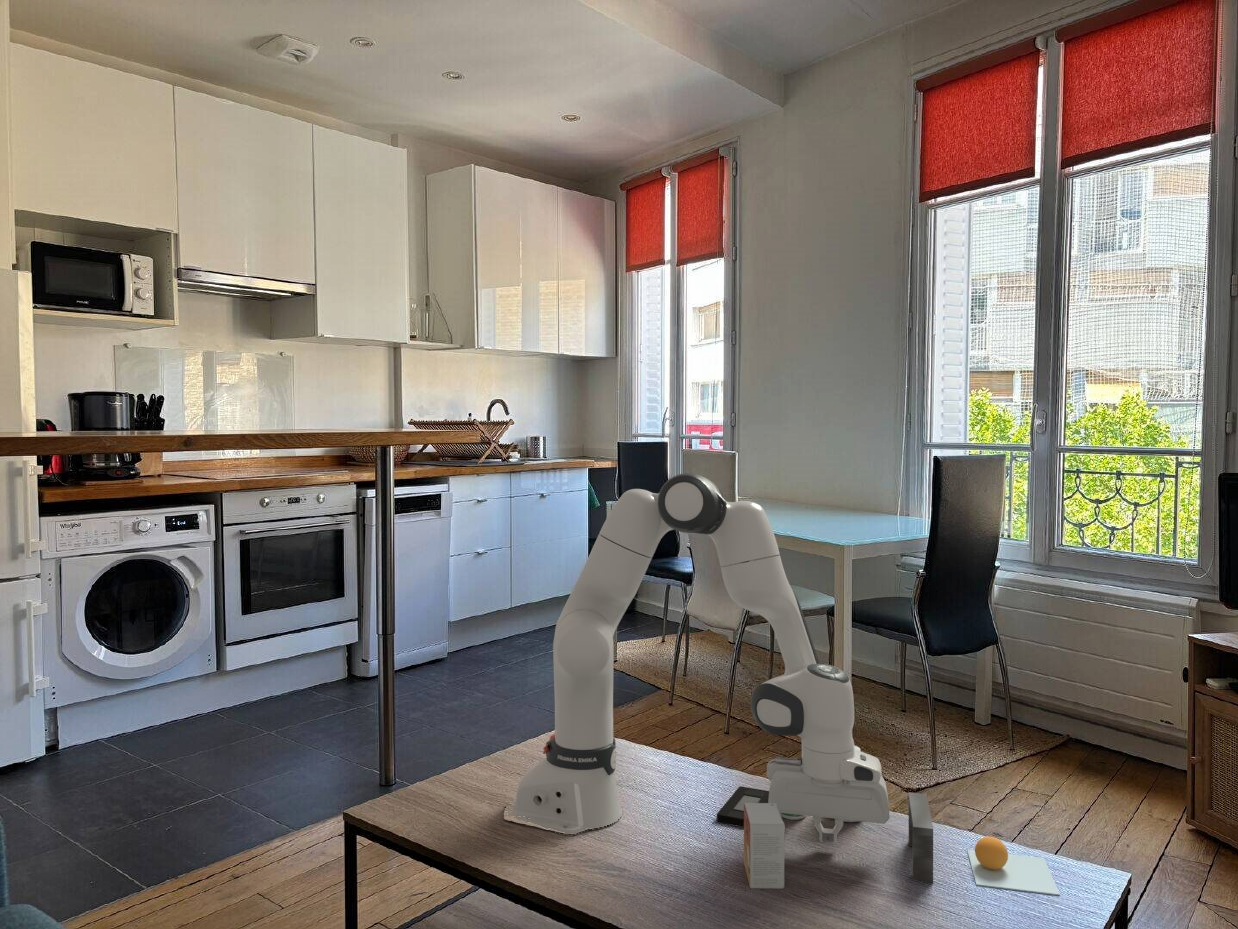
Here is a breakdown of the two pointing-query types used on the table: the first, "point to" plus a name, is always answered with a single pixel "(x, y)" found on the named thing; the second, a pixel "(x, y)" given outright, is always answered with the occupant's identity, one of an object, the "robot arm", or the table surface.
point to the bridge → (921, 837)
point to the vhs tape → (740, 805)
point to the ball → (991, 853)
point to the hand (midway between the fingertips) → (828, 841)
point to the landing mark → (1016, 874)
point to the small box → (764, 845)
